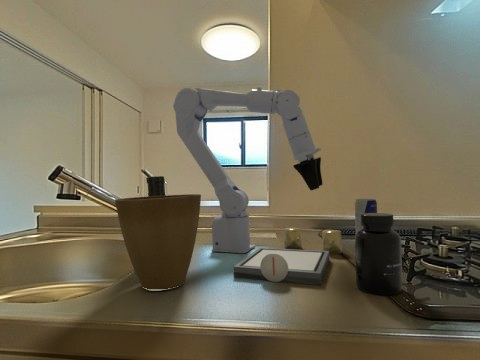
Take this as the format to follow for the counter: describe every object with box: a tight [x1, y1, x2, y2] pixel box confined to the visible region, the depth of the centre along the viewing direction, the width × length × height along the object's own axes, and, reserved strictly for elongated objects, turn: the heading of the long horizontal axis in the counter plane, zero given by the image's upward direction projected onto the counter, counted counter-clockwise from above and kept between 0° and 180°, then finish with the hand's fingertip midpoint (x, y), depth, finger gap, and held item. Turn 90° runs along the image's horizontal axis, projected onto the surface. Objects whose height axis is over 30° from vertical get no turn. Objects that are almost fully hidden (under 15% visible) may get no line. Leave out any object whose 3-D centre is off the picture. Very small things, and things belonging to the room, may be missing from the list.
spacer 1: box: [283, 227, 303, 250], centre depth 79 cm, size 4×4×5 cm
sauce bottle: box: [145, 175, 166, 197], centre depth 70 cm, size 6×6×20 cm
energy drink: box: [354, 198, 378, 234], centre depth 79 cm, size 5×5×12 cm
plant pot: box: [114, 193, 202, 289], centre depth 55 cm, size 15×15×16 cm
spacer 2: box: [321, 229, 343, 255], centre depth 74 cm, size 4×4×5 cm
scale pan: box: [243, 250, 322, 271], centre depth 62 cm, size 13×13×1 cm
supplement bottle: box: [354, 212, 403, 296], centre depth 49 cm, size 7×7×12 cm
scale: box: [233, 247, 330, 286], centre depth 61 cm, size 16×17×5 cm
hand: (316, 187), depth 76 cm, fingers open, 7 cm apart
